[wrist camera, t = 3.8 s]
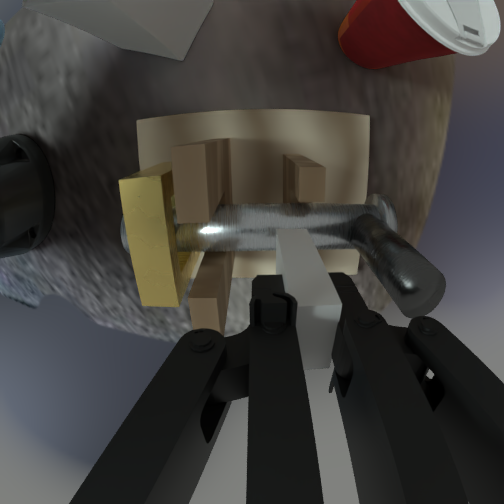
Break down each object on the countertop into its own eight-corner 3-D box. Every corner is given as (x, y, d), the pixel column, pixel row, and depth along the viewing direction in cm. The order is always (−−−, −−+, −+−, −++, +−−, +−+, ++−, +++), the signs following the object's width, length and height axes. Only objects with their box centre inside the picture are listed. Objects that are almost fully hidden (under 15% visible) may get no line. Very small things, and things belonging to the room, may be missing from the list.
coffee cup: (408, 82, 21) (518, 68, 7) (333, 79, 21) (418, 34, 8) (392, 12, 17) (479, -40, 4) (317, 5, 18) (370, -82, 4)
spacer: (172, 253, 24) (142, 305, 17) (162, 162, 21) (118, 179, 14) (200, 253, 24) (179, 307, 17) (192, 159, 21) (160, 175, 14)
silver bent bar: (145, 248, 21) (78, 336, 11) (137, 192, 19) (48, 253, 9) (367, 244, 21) (437, 330, 11) (373, 188, 19) (465, 245, 9)
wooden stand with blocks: (159, 272, 30) (107, 365, 17) (141, 120, 23) (46, 122, 10) (353, 269, 29) (407, 360, 16) (365, 116, 23) (459, 113, 10)
